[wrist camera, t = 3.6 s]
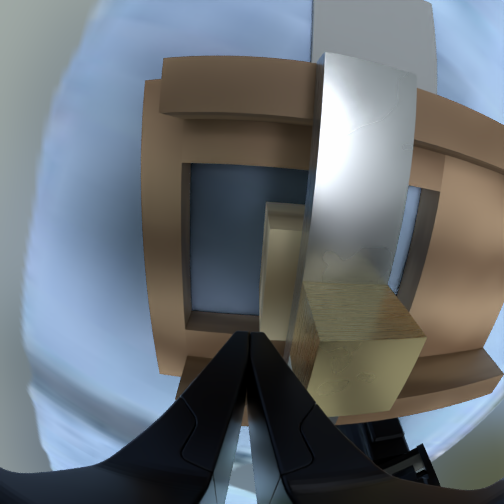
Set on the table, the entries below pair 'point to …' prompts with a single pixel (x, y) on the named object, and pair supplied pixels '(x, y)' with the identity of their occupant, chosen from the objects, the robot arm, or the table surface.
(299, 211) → the beech block
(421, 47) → the slate mat
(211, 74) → the puzzle board
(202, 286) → the table surface
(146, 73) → the table surface
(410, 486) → the robot arm
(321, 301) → the latch bar
